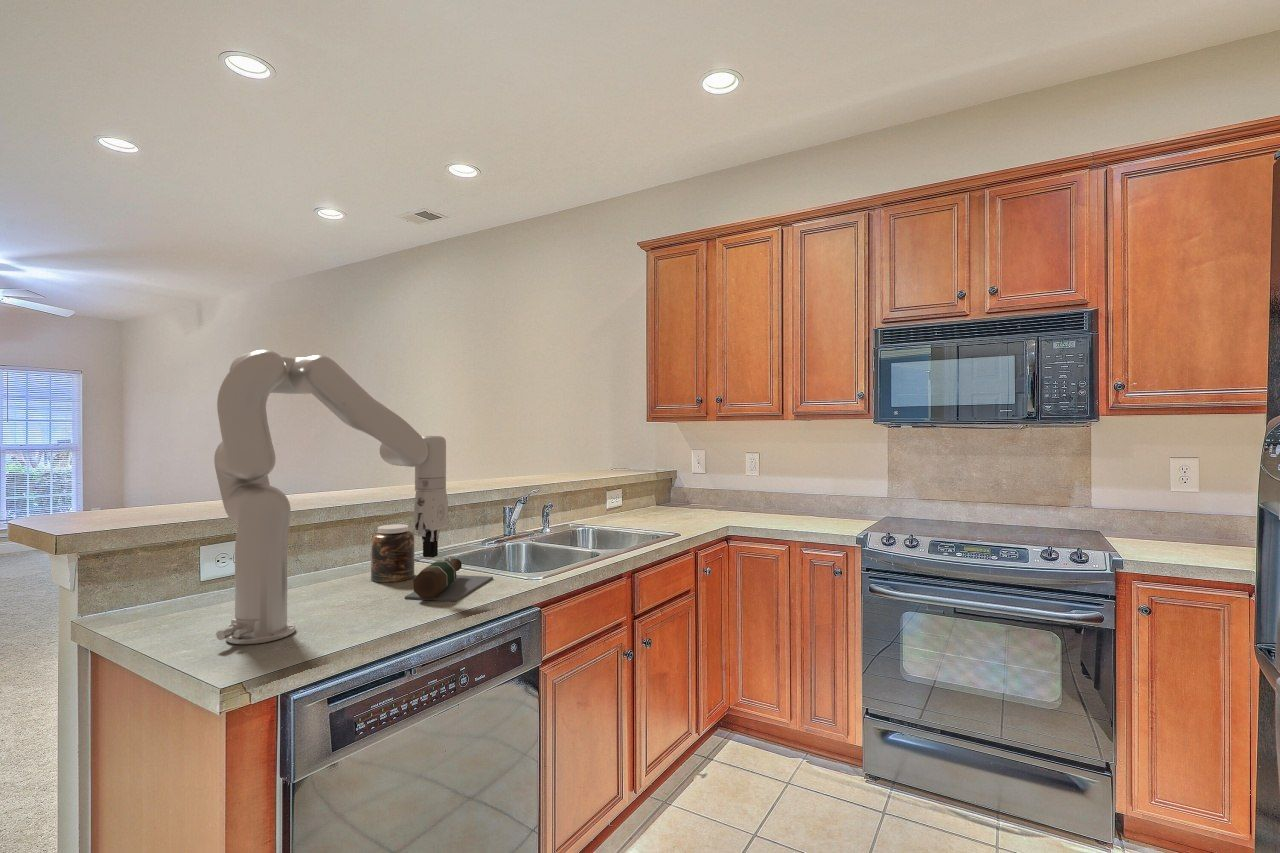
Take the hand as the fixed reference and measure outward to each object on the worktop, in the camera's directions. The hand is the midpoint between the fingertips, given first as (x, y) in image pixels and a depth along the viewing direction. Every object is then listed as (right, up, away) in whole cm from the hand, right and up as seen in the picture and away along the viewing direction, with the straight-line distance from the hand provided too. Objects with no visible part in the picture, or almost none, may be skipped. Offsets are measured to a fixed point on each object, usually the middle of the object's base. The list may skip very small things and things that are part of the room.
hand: (430, 556), depth 160 cm
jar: (-19, -11, +23) cm, 32 cm away
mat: (+2, -11, +12) cm, 16 cm away
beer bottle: (0, -7, -2) cm, 7 cm away
